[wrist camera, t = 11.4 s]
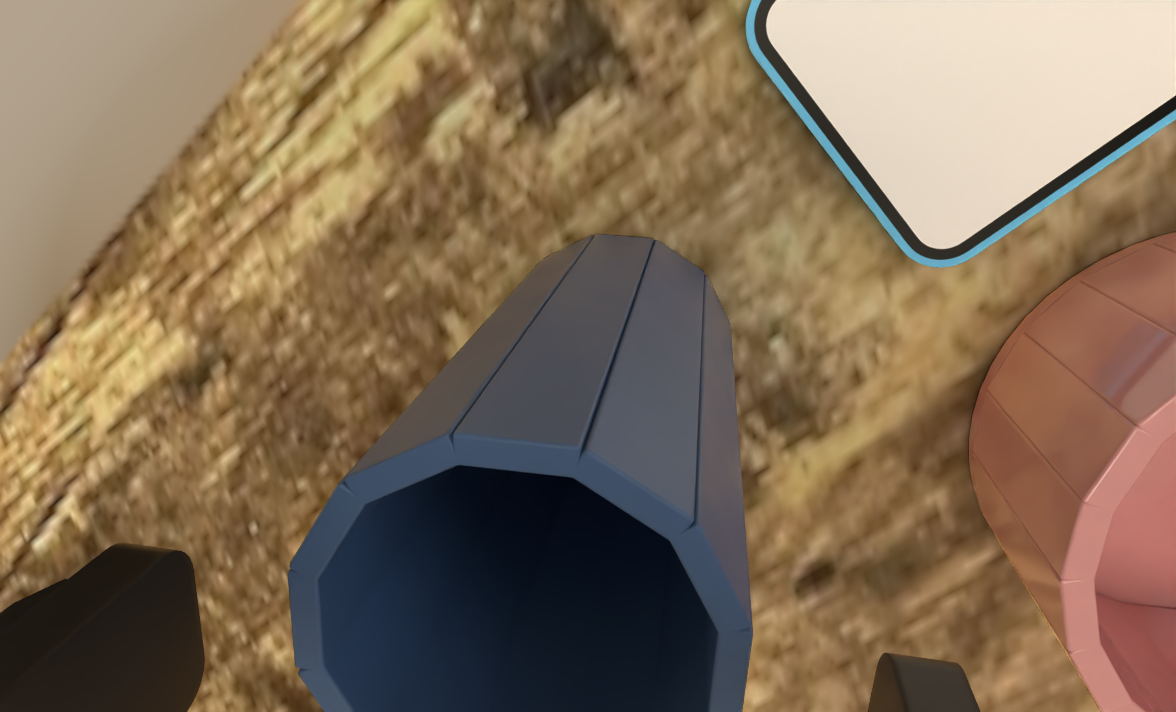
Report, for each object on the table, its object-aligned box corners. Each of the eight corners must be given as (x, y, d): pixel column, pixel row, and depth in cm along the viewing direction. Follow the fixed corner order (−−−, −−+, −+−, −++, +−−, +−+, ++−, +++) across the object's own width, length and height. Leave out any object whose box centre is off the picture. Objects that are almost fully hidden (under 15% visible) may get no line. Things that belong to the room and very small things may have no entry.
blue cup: (740, 244, 20) (775, 467, 9) (716, 454, 22) (721, 862, 11) (512, 226, 21) (272, 413, 9) (508, 432, 22) (303, 794, 11)
